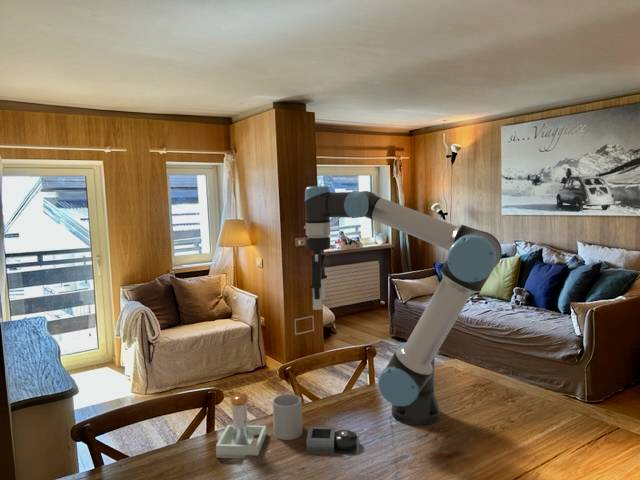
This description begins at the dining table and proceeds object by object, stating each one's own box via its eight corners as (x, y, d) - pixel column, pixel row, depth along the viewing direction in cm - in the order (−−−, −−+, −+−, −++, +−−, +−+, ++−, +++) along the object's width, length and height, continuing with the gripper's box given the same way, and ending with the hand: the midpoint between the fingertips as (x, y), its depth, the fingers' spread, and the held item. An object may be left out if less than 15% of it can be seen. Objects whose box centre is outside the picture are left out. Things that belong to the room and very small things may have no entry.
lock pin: (250, 440, 138) (249, 393, 137) (246, 448, 134) (245, 400, 132) (235, 439, 139) (233, 393, 137) (230, 448, 134) (228, 400, 133)
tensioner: (358, 438, 140) (358, 424, 139) (358, 458, 130) (358, 442, 129) (310, 437, 141) (309, 423, 140) (306, 456, 131) (305, 441, 131)
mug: (301, 443, 138) (300, 406, 137) (272, 443, 138) (270, 406, 137) (303, 422, 150) (302, 389, 149) (276, 423, 150) (275, 389, 149)
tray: (266, 436, 142) (266, 425, 141) (258, 458, 130) (257, 446, 130) (228, 435, 143) (227, 424, 142) (216, 457, 131) (215, 445, 131)
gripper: (309, 232, 161) (311, 295, 163) (301, 240, 136) (302, 314, 138) (332, 232, 160) (333, 295, 163) (327, 240, 136) (328, 314, 138)
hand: (319, 303), depth 151 cm, fingers open, 13 cm apart
